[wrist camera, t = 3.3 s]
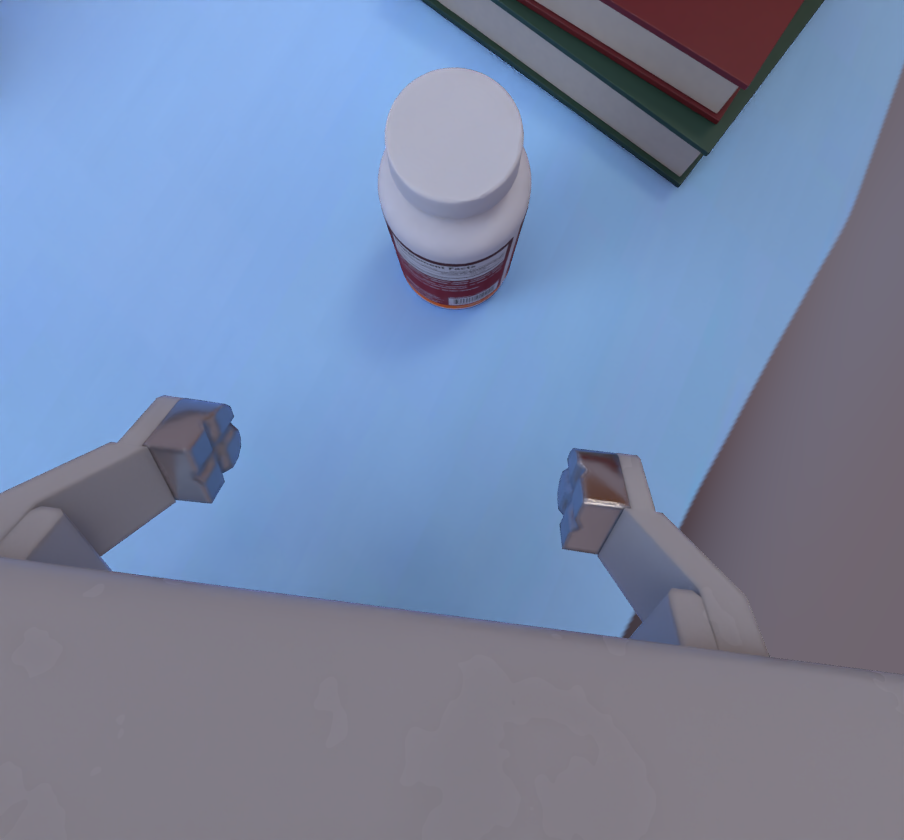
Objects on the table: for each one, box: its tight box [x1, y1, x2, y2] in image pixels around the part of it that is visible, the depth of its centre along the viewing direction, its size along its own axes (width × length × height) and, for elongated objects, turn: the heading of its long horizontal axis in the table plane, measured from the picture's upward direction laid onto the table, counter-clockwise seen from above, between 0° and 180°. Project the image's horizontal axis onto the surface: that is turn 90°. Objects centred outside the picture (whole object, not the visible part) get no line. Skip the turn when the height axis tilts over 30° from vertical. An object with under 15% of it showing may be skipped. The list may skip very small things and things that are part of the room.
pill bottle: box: [378, 68, 531, 309], centre depth 21 cm, size 6×6×11 cm
